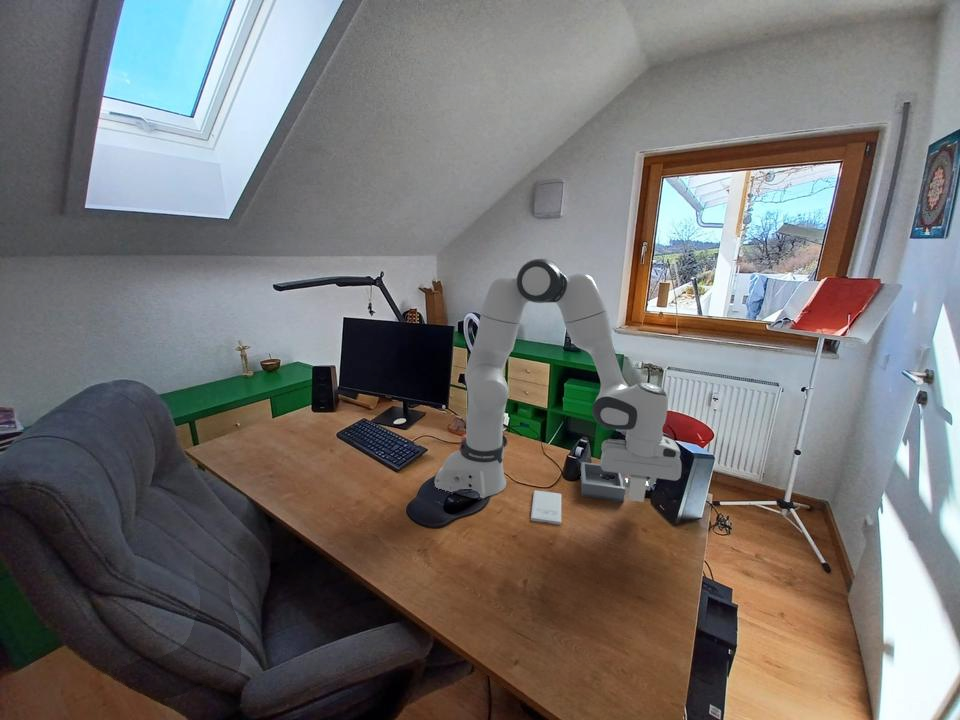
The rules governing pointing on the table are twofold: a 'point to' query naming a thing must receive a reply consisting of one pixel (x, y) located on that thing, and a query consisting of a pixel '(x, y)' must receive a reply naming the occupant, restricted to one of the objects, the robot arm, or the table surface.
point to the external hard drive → (546, 507)
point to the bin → (600, 483)
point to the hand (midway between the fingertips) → (636, 487)
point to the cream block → (636, 488)
